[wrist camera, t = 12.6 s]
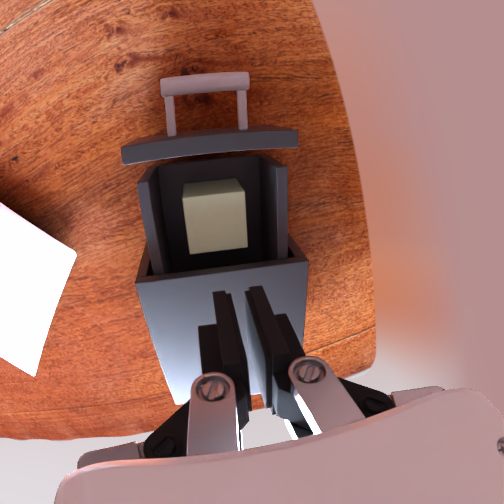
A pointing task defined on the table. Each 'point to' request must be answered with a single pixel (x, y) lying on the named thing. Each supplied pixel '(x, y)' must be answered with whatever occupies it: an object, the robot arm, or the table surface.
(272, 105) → the table surface
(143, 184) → the drawer
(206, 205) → the block
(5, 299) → the plate
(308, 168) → the table surface
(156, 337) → the cabinet
